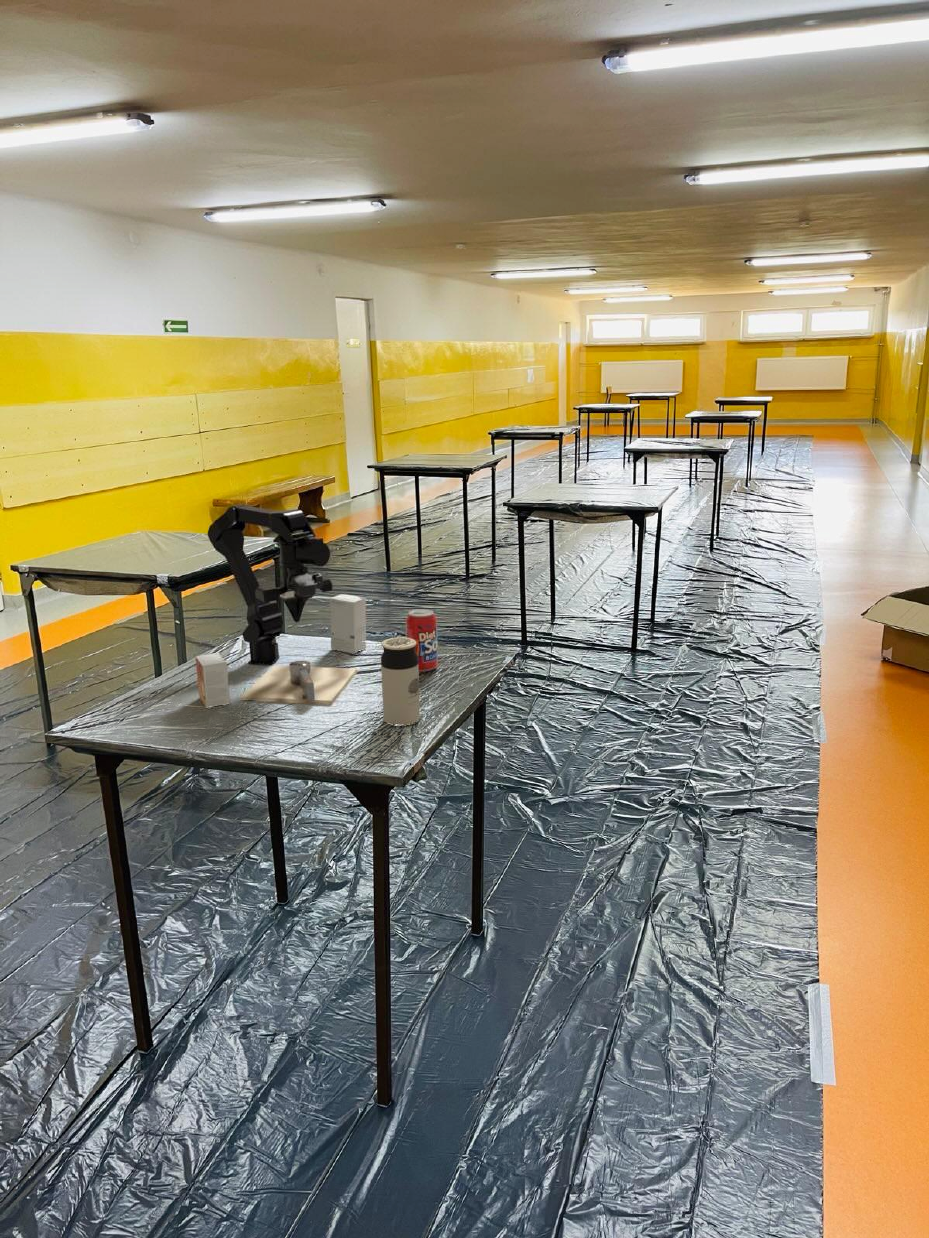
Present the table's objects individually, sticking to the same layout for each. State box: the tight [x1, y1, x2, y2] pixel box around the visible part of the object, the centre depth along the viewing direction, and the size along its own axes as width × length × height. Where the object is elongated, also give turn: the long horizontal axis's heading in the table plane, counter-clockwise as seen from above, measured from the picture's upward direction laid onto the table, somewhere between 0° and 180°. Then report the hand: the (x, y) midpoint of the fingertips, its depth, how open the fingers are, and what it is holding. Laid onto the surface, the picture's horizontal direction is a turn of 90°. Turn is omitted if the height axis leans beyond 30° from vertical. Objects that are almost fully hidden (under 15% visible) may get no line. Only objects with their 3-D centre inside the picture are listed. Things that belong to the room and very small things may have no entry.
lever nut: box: [288, 660, 315, 700], centre depth 208 cm, size 18×5×4 cm, turn 20°
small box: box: [195, 652, 231, 708], centre depth 203 cm, size 8×6×10 cm
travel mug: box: [380, 636, 421, 725], centre depth 189 cm, size 8×8×18 cm
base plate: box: [240, 665, 358, 706], centre depth 213 cm, size 22×22×1 cm
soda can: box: [405, 608, 439, 673], centre depth 222 cm, size 8×8×15 cm
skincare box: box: [329, 593, 367, 655], centre depth 238 cm, size 8×6×15 cm
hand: (296, 621), depth 220 cm, fingers closed
